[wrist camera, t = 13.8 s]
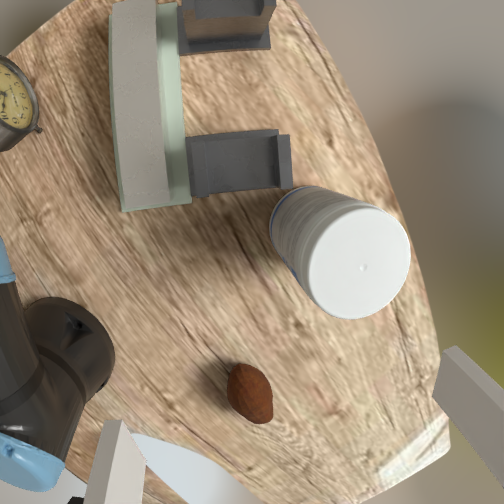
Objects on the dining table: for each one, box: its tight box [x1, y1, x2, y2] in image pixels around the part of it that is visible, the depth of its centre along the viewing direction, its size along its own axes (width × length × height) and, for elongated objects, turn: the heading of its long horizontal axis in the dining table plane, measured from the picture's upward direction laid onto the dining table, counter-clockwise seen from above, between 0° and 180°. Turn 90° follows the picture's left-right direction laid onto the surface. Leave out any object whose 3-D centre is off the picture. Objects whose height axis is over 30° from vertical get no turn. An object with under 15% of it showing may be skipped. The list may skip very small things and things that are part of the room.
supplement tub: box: [269, 186, 410, 319], centre depth 31 cm, size 10×10×15 cm
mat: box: [109, 2, 192, 213], centre depth 31 cm, size 8×24×1 cm, turn 5°
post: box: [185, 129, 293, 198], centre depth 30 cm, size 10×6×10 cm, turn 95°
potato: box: [227, 363, 273, 424], centre depth 41 cm, size 6×12×6 cm, turn 22°
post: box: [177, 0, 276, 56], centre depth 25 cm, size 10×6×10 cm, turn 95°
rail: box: [112, 0, 175, 209], centre depth 29 cm, size 4×22×4 cm, turn 5°
